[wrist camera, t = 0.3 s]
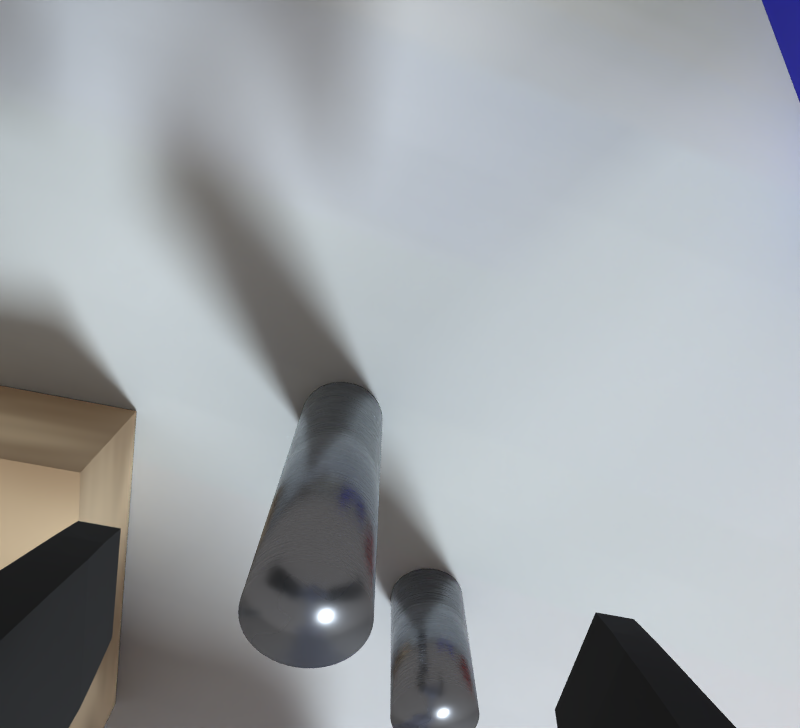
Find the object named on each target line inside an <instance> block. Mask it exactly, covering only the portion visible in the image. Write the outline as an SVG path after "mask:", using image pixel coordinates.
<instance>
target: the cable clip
mask: <svg viewBox="0 0 800 728" xmlns="http://www.w3.org/2000/svg"><path fill="white" fill-rule="evenodd" d="M762 2H763V5H764V7H765V10H766V13H767V15H768V18H769V21H770V23H771V26H772V29H773V31H774V34H775V37H776V40H777V42H778V45H779V48H780V50H781V53H782V56H783V58H784V61H785V64H786V66H787V69H788V72H789V74H790V77H791V80H792V83H793V85H794V88H795V91H796V93H797V96H798V99H799V101H800V0H762Z"/></svg>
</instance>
